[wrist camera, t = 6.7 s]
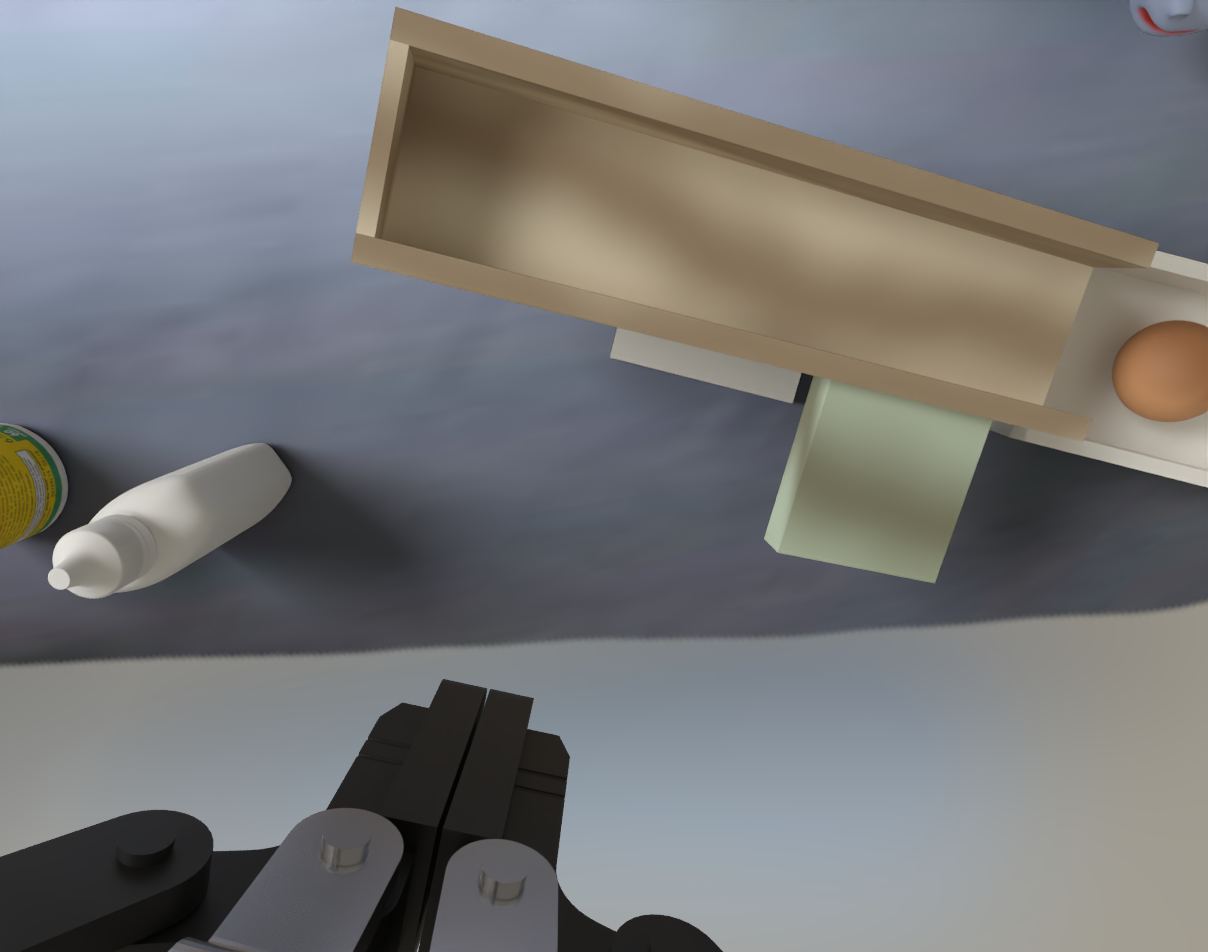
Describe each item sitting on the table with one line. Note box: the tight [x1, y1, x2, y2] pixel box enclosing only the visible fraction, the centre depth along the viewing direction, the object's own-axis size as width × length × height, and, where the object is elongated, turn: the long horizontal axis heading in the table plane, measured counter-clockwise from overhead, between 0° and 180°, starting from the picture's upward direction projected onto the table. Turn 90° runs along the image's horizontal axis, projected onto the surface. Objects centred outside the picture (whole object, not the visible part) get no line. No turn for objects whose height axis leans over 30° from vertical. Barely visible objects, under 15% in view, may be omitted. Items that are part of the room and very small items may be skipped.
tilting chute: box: [351, 7, 1159, 583], centre depth 28 cm, size 13×24×6 cm, turn 76°
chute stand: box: [610, 328, 801, 403], centre depth 32 cm, size 10×8×6 cm
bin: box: [989, 251, 1208, 488], centre depth 33 cm, size 8×11×4 cm
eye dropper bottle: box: [48, 443, 292, 599], centre depth 32 cm, size 4×6×12 cm
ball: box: [1112, 320, 1208, 422], centre depth 33 cm, size 4×4×4 cm
